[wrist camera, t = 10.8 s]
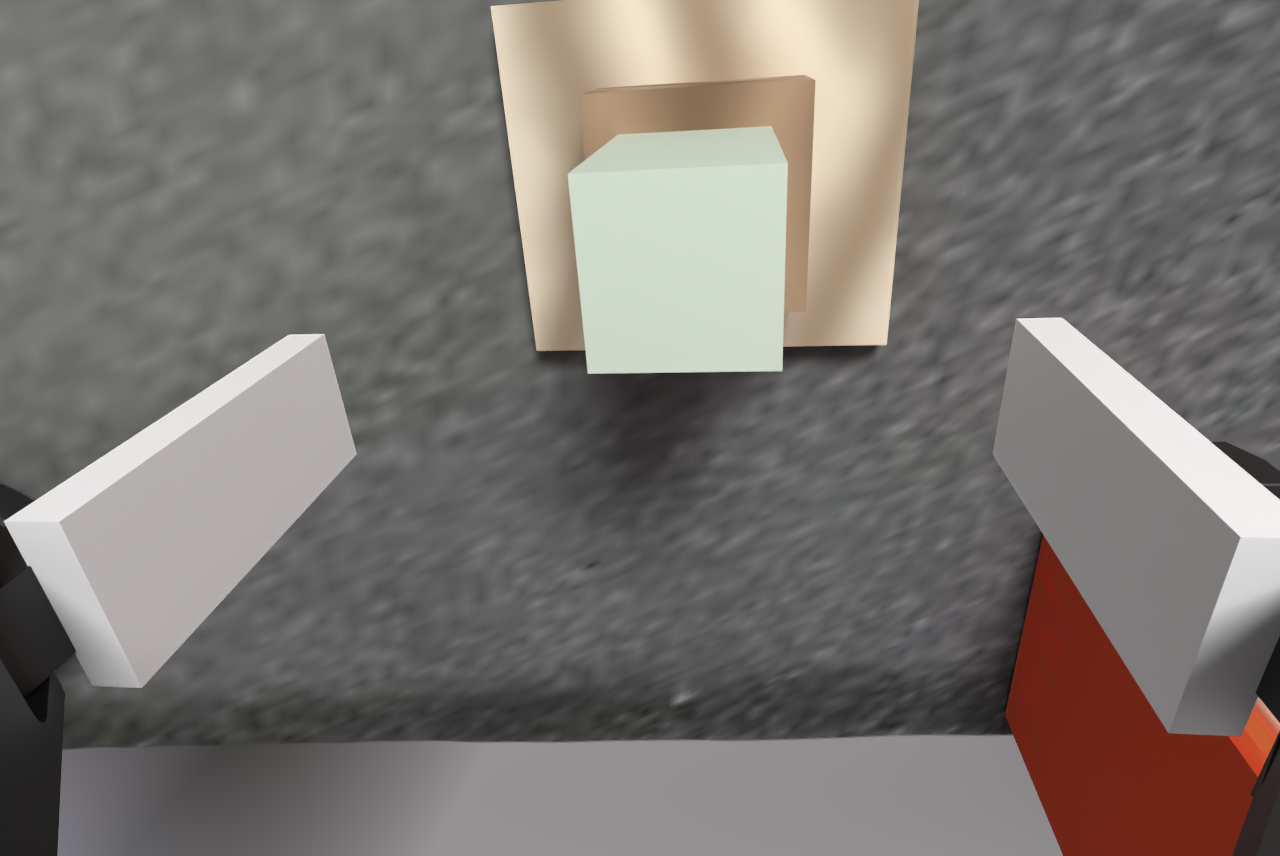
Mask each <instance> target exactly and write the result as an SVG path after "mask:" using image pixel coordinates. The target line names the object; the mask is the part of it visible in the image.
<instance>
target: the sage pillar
mask: <svg viewBox="0 0 1280 856" xmlns="http://www.w3.org/2000/svg"><path fill="white" fill-rule="evenodd" d="M787 178H788V162H787V160H786V158H785V155H784V153H783V151H782V149H781V146H780V144H779V142H778V139H777V137H776V135H775V133H774V130H773V128H772V126H765V127H747V128H729V129H711V130H693V131H675V132H656V133H638V134H620V135H617V136H615V137H614V138H613V139H612V140H610V141H609V142H608V143H606V144H605V145H604V146H603V147H601V148H600V149H599V150H597V151H596V152H595V153H594V154H592V155H591V156H590V157H588V158H587V159H586V160H585V161H583V162H582V163H581V164H579V165H578V166H577V167H576V168H574V169H573V170H572V171H570V172H569V173H568V184H569V194H570V204H571V213H572V223H573V233H574V243H575V253H576V263H577V272H578V282H579V292H580V302H581V312H582V322H583V331H584V341H585V351H586V361H587V371H588V374H605V373H680V372H755V371H782V367H783V329H784V291H785V253H786V216H787Z"/></svg>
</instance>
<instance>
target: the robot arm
mask: <svg viewBox="0 0 1280 856" xmlns="http://www.w3.org/2000/svg"><path fill="white" fill-rule="evenodd" d="M355 455H356V450H355V446H354V442H353V439H352V435H351V431H350V428H349V424H348V420H347V416H346V413H345V409H344V405H343V401H342V398H341V394H340V390H339V387H338V383H337V379H336V375H335V372H334V368H333V364H332V360H331V357H330V353H329V349H328V346H327V342H326V338H325V334H300V335H288V336H286V337H285V338H283V339H282V340H280V341H278V342H277V343H275V344H274V345H272V346H271V347H269V348H268V349H266V350H265V351H263V352H262V353H260V354H259V355H257V356H256V357H254V358H252V359H251V360H249V361H248V362H246V363H245V364H243V365H242V366H240V367H239V368H237V369H236V370H234V371H233V372H231V373H230V374H228V375H226V376H225V377H223V378H222V379H220V380H219V381H217V382H216V383H214V384H213V385H211V386H210V387H208V388H207V389H205V390H204V391H202V392H200V393H199V394H197V395H196V396H194V397H193V398H191V399H190V400H188V401H187V402H185V403H184V404H182V405H181V406H179V407H178V408H176V409H174V410H173V411H171V412H170V413H168V414H167V415H165V416H164V417H162V418H161V419H159V420H158V421H156V422H155V423H153V424H152V425H150V426H148V427H147V428H145V429H144V430H142V431H141V432H139V433H138V434H136V435H135V436H133V437H132V438H130V439H129V440H127V441H126V442H124V443H123V444H121V445H119V446H118V447H116V448H115V449H113V450H112V451H110V452H109V453H107V454H106V455H104V456H103V457H101V458H100V459H98V460H97V461H95V462H93V463H92V464H90V465H89V466H87V467H86V468H84V469H83V470H81V471H80V472H78V473H77V474H75V475H74V476H72V477H71V478H69V479H67V480H66V481H64V482H63V483H61V484H60V485H58V486H57V487H55V488H54V489H52V490H51V491H49V492H48V493H46V494H45V495H43V496H41V497H40V498H38V499H37V500H35V501H34V502H33V501H32V500H30V499H29V498H27V497H25V496H24V495H22V494H20V493H18V492H16V491H15V490H13V489H11V488H8V487H6V486H4V485H2V484H0V856H57V848H58V826H59V804H60V783H61V762H62V741H63V720H64V698H65V693H64V691H63V688H62V686H61V684H60V682H59V680H58V678H57V677H56V675H55V673H54V671H55V670H56V669H58V668H59V667H60V666H61V665H62V664H63V663H64V662H65V661H66V660H67V659H68V658H69V657H71V656H72V655H73V654H74V653H75V655H76V657H77V659H78V660H79V662H80V664H81V666H82V668H83V670H84V672H85V673H86V675H87V677H88V679H89V681H90V683H91V684H92V686H110V687H132V688H142V687H143V686H144V685H145V684H146V683H147V682H148V681H149V680H150V679H151V677H152V676H153V675H154V674H155V673H156V672H157V671H158V670H159V669H160V668H161V667H162V665H163V664H164V663H165V662H166V661H167V660H168V659H169V658H170V657H171V656H172V655H173V653H174V652H175V651H176V650H177V649H178V648H179V647H180V646H181V645H182V644H183V643H184V642H185V640H186V639H187V638H188V637H189V636H190V635H191V634H192V633H193V632H194V631H195V630H196V628H197V627H198V626H199V625H200V624H201V623H202V622H203V621H204V620H205V619H206V618H207V616H208V615H209V614H210V613H211V612H212V611H213V610H214V609H215V608H216V607H217V606H218V605H219V603H220V602H221V601H222V600H223V599H224V598H225V597H226V596H227V595H228V594H229V593H230V591H231V590H232V589H233V588H234V587H235V586H236V585H237V584H238V583H239V582H240V581H241V579H242V578H243V577H244V576H245V575H246V574H247V573H248V572H249V571H250V570H251V569H252V568H253V566H254V565H255V564H256V563H257V562H258V561H259V560H260V559H261V558H262V557H263V556H264V554H265V553H266V552H267V551H268V550H269V549H270V548H271V547H272V546H273V545H274V544H275V542H276V541H277V540H278V539H279V538H280V537H281V536H282V535H283V534H284V533H285V532H286V531H287V529H288V528H289V527H290V526H291V525H292V524H293V523H294V522H295V521H296V520H297V519H298V517H299V516H300V515H301V514H302V513H303V512H304V511H305V510H306V509H307V508H308V507H309V505H310V504H311V503H312V502H313V501H314V500H315V499H316V498H317V497H318V496H319V495H320V494H321V492H322V491H323V490H324V489H325V488H326V487H327V486H328V485H329V484H330V483H331V482H332V480H333V479H334V478H335V477H336V476H337V475H338V474H339V473H340V472H341V471H342V470H343V468H344V467H345V466H346V465H347V464H348V463H349V462H350V461H351V460H352V459H353V458H354V457H355ZM993 456H994V457H995V459H996V460H997V462H998V463H999V465H1000V467H1001V468H1002V470H1003V471H1004V473H1005V475H1006V476H1007V478H1008V479H1009V481H1010V483H1011V484H1012V486H1013V487H1014V489H1015V490H1016V492H1017V494H1018V495H1019V497H1020V498H1021V500H1022V502H1023V503H1024V505H1025V506H1026V508H1027V510H1028V511H1029V513H1030V514H1031V516H1032V517H1033V519H1034V521H1035V522H1036V524H1037V525H1038V527H1039V529H1040V530H1041V532H1042V533H1043V535H1044V536H1045V538H1046V540H1047V541H1048V543H1049V544H1050V546H1051V548H1052V549H1053V551H1054V552H1055V554H1056V556H1057V557H1058V559H1059V560H1060V562H1061V563H1062V565H1063V567H1064V568H1065V570H1066V571H1067V573H1068V575H1069V576H1070V578H1071V579H1072V581H1073V582H1074V584H1075V586H1076V587H1077V589H1078V590H1079V592H1080V594H1081V595H1082V597H1083V598H1084V600H1085V602H1086V603H1087V605H1088V606H1089V608H1090V609H1091V611H1092V613H1093V614H1094V616H1095V617H1096V619H1097V621H1098V622H1099V624H1100V625H1101V627H1102V628H1103V630H1104V632H1105V633H1106V635H1107V636H1108V638H1109V640H1110V641H1111V643H1112V644H1113V646H1114V648H1115V649H1116V651H1117V652H1118V654H1119V655H1120V657H1121V659H1122V660H1123V662H1124V663H1125V665H1126V667H1127V668H1128V670H1129V671H1130V673H1131V674H1132V676H1133V678H1134V679H1135V681H1136V682H1137V684H1138V686H1139V687H1140V689H1141V690H1142V692H1143V694H1144V695H1145V697H1146V698H1147V700H1148V701H1149V703H1150V705H1151V706H1152V708H1153V709H1154V711H1155V713H1156V714H1157V716H1158V717H1159V719H1160V720H1161V722H1162V724H1163V725H1164V727H1165V728H1166V730H1167V732H1168V733H1174V734H1197V735H1219V736H1241V735H1242V733H1243V730H1244V728H1245V726H1246V724H1247V721H1248V719H1249V717H1250V714H1251V712H1252V710H1253V707H1254V705H1255V703H1256V700H1257V698H1258V697H1259V698H1260V699H1261V700H1262V702H1263V703H1264V704H1265V705H1266V707H1267V708H1268V709H1269V710H1270V712H1271V713H1272V714H1273V715H1274V717H1275V718H1276V719H1277V720H1278V722H1279V723H1280V471H1278V470H1277V469H1276V468H1275V467H1273V466H1272V465H1271V464H1269V463H1268V462H1267V461H1266V460H1264V459H1261V458H1259V457H1257V456H1255V455H1253V454H1251V453H1249V452H1246V451H1244V450H1242V449H1240V448H1238V447H1236V446H1233V445H1231V444H1229V443H1227V442H1210V441H1209V440H1208V439H1207V438H1205V437H1204V436H1203V435H1202V434H1201V433H1199V432H1198V431H1197V430H1196V429H1195V428H1193V427H1192V426H1191V425H1190V424H1189V423H1187V422H1186V421H1185V420H1184V419H1183V418H1182V417H1180V416H1179V415H1178V414H1177V413H1176V412H1174V411H1173V410H1172V409H1171V408H1170V407H1168V406H1167V405H1166V404H1165V403H1164V402H1162V401H1161V400H1160V399H1159V398H1158V397H1156V396H1155V395H1154V394H1153V393H1152V392H1150V391H1149V390H1148V389H1147V388H1146V387H1144V386H1143V385H1142V384H1141V383H1140V382H1138V381H1137V380H1136V379H1135V378H1134V377H1132V376H1131V375H1130V374H1129V373H1128V372H1126V371H1125V370H1124V369H1123V368H1122V367H1120V366H1119V365H1118V364H1117V363H1116V362H1114V361H1113V360H1112V359H1111V358H1110V357H1108V356H1107V355H1106V354H1105V353H1104V352H1102V351H1101V350H1100V349H1099V348H1098V347H1096V346H1095V345H1094V344H1093V343H1092V342H1091V341H1089V340H1088V339H1087V338H1086V337H1085V336H1083V335H1082V334H1081V333H1080V332H1079V331H1077V330H1076V329H1075V328H1074V327H1073V326H1071V325H1070V324H1069V323H1068V322H1067V321H1065V320H1064V319H1063V318H1025V319H1016V323H1015V328H1014V334H1013V340H1012V345H1011V351H1010V357H1009V363H1008V368H1007V374H1006V380H1005V386H1004V391H1003V397H1002V403H1001V409H1000V414H999V420H998V426H997V432H996V437H995V443H994V449H993ZM1250 795H1251V796H1253V800H1252V802H1251V805H1250V808H1249V810H1248V813H1247V816H1246V819H1245V821H1244V824H1243V827H1242V829H1241V832H1240V835H1239V838H1238V840H1237V843H1236V846H1235V848H1234V851H1233V854H1232V856H1280V731H1279V733H1278V735H1277V738H1276V740H1275V742H1274V744H1273V746H1272V748H1271V751H1270V753H1269V755H1268V757H1267V759H1266V761H1265V763H1264V766H1263V768H1262V770H1261V772H1260V774H1259V776H1258V779H1257V781H1256V783H1255V785H1254V787H1253V789H1252V792H1251V794H1250Z"/></svg>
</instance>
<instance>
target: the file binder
mask: <svg viewBox="0 0 1280 856" xmlns="http://www.w3.org/2000/svg"><path fill="white" fill-rule="evenodd" d="M1005 716H1006V719H1007V721H1008V723H1009V726H1010V728H1011V731H1012V733H1013V735H1014V738H1015V740H1016V743H1017V745H1018V747H1019V750H1020V752H1021V755H1022V757H1023V759H1024V762H1025V764H1026V767H1027V769H1028V772H1029V774H1030V777H1031V779H1032V781H1033V784H1034V786H1035V789H1036V791H1037V793H1038V796H1039V798H1040V801H1041V803H1042V805H1043V808H1044V810H1045V813H1046V815H1047V817H1048V820H1049V822H1050V825H1051V827H1052V830H1053V832H1054V834H1055V836H1056V839H1057V841H1058V844H1059V846H1060V849H1061V851H1062V854H1063V856H1232V854H1233V851H1234V848H1235V846H1236V843H1237V840H1238V838H1239V835H1240V832H1241V829H1242V827H1243V824H1244V821H1245V819H1246V816H1247V813H1248V810H1249V808H1250V805H1251V802H1252V800H1253V796H1251V795H1250V794H1251V792H1252V789H1253V787H1254V785H1255V783H1256V781H1257V779H1258V776H1259V774H1260V772H1261V770H1262V768H1263V766H1264V763H1265V761H1266V759H1267V757H1268V755H1269V753H1270V751H1271V748H1272V746H1273V744H1274V742H1275V740H1276V738H1277V735H1278V733H1279V731H1280V723H1279V722H1278V720H1277V719H1276V718H1275V717H1274V715H1273V714H1272V713H1271V712H1270V710H1269V709H1268V708H1267V707H1266V705H1265V704H1264V703H1263V702H1262V700H1261V699H1260V698H1259V697H1258V698H1257V700H1256V703H1255V705H1254V707H1253V710H1252V712H1251V714H1250V717H1249V719H1248V721H1247V724H1246V726H1245V728H1244V730H1243V733H1242V735H1241V736H1219V735H1197V734H1174V733H1168V732H1167V730H1166V728H1165V727H1164V725H1163V724H1162V722H1161V720H1160V719H1159V717H1158V716H1157V714H1156V713H1155V711H1154V709H1153V708H1152V706H1151V705H1150V703H1149V701H1148V700H1147V698H1146V697H1145V695H1144V694H1143V692H1142V690H1141V689H1140V687H1139V686H1138V684H1137V682H1136V681H1135V679H1134V678H1133V676H1132V674H1131V673H1130V671H1129V670H1128V668H1127V667H1126V665H1125V663H1124V662H1123V660H1122V659H1121V657H1120V655H1119V654H1118V652H1117V651H1116V649H1115V648H1114V646H1113V644H1112V643H1111V641H1110V640H1109V638H1108V636H1107V635H1106V633H1105V632H1104V630H1103V628H1102V627H1101V625H1100V624H1099V622H1098V621H1097V619H1096V617H1095V616H1094V614H1093V613H1092V611H1091V609H1090V608H1089V606H1088V605H1087V603H1086V602H1085V600H1084V598H1083V597H1082V595H1081V594H1080V592H1079V590H1078V589H1077V587H1076V586H1075V584H1074V582H1073V581H1072V579H1071V578H1070V576H1069V575H1068V573H1067V571H1066V570H1065V568H1064V567H1063V565H1062V563H1061V562H1060V560H1059V559H1058V557H1057V556H1056V554H1055V552H1054V551H1053V549H1052V548H1051V546H1050V544H1049V543H1048V541H1047V540H1046V538H1045V536H1044V535H1043V537H1042V542H1041V547H1040V551H1039V556H1038V561H1037V566H1036V570H1035V575H1034V580H1033V585H1032V589H1031V594H1030V599H1029V604H1028V608H1027V613H1026V618H1025V622H1024V627H1023V632H1022V637H1021V641H1020V646H1019V651H1018V656H1017V660H1016V665H1015V670H1014V675H1013V679H1012V684H1011V689H1010V693H1009V698H1008V703H1007V708H1006V712H1005Z"/></svg>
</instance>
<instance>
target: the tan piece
mask: <svg viewBox="0 0 1280 856" xmlns="http://www.w3.org/2000/svg"><path fill="white" fill-rule="evenodd" d="M918 4H919V0H563V1H550V2H538V3H525V4H513V5H500V6H491V13H492V20H493V28H494V35H495V43H496V50H497V58H498V65H499V73H500V80H501V88H502V95H503V103H504V110H505V118H506V125H507V133H508V140H509V148H510V155H511V162H512V170H513V177H514V185H515V192H516V200H517V207H518V215H519V222H520V230H521V237H522V245H523V252H524V260H525V267H526V275H527V282H528V290H529V297H530V305H531V312H532V320H533V327H534V335H535V342H536V350H537V351H565V350H585V341H584V331H583V322H582V312H581V302H580V292H579V282H578V272H577V263H576V253H575V243H574V233H573V223H572V213H571V204H570V194H569V184H568V173H569V172H570V171H572V170H573V169H574V168H576V167H577V166H578V165H579V164H581V163H582V162H583V161H585V160H586V159H587V158H588V157H590V156H591V155H592V154H594V153H595V152H596V151H597V150H599V149H600V148H601V147H603V146H604V145H605V144H606V143H608V142H609V141H610V140H612V139H613V138H614V137H615V136H617V135H620V134H638V133H656V132H675V131H693V130H711V129H729V128H747V127H765V126H772V128H773V130H774V133H775V135H776V137H777V139H778V142H779V144H780V146H781V149H782V151H783V153H784V155H785V158H786V160H787V162H788V178H787V216H786V253H785V291H784V329H783V347H793V346H850V345H887V336H888V325H889V314H890V304H891V293H892V282H893V272H894V261H895V250H896V240H897V229H898V218H899V208H900V197H901V186H902V175H903V165H904V154H905V143H906V133H907V122H908V111H909V101H910V90H911V79H912V69H913V58H914V47H915V36H916V26H917V15H918Z"/></svg>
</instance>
